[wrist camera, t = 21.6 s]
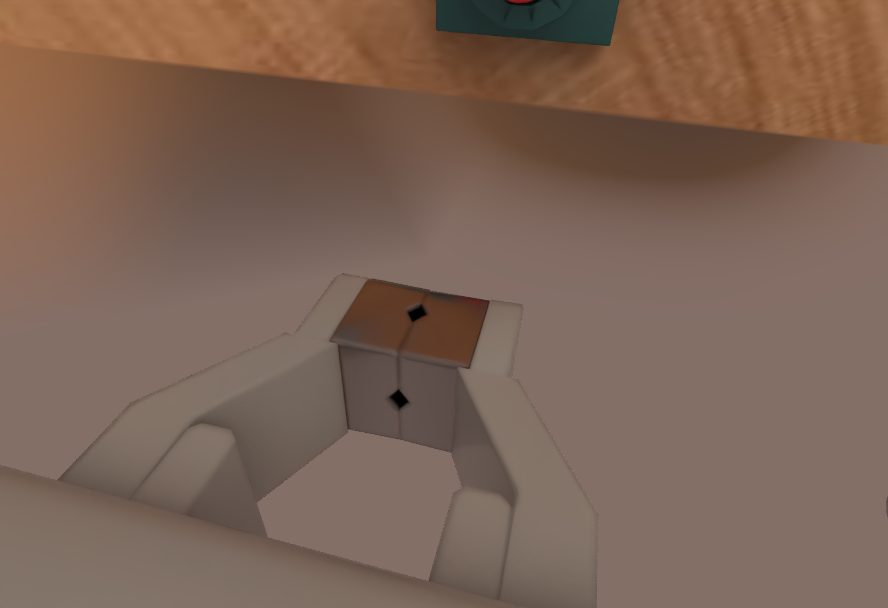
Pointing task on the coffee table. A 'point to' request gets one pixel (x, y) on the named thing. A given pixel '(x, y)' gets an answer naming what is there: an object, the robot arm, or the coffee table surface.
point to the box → (531, 19)
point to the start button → (519, 1)
